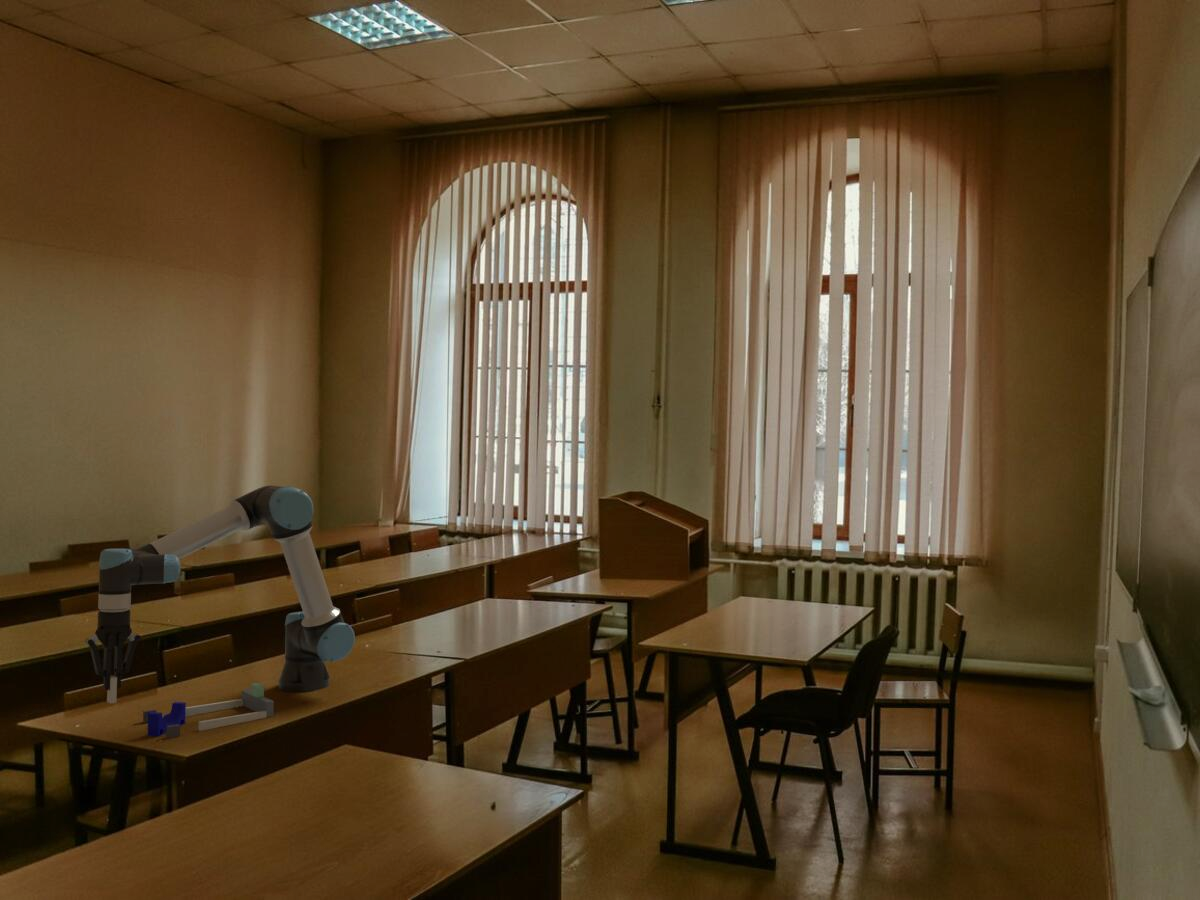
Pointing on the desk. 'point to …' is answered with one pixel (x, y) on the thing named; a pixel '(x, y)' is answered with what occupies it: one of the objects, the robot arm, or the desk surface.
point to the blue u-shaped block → (166, 719)
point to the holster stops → (171, 730)
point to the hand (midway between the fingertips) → (111, 702)
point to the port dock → (249, 699)
